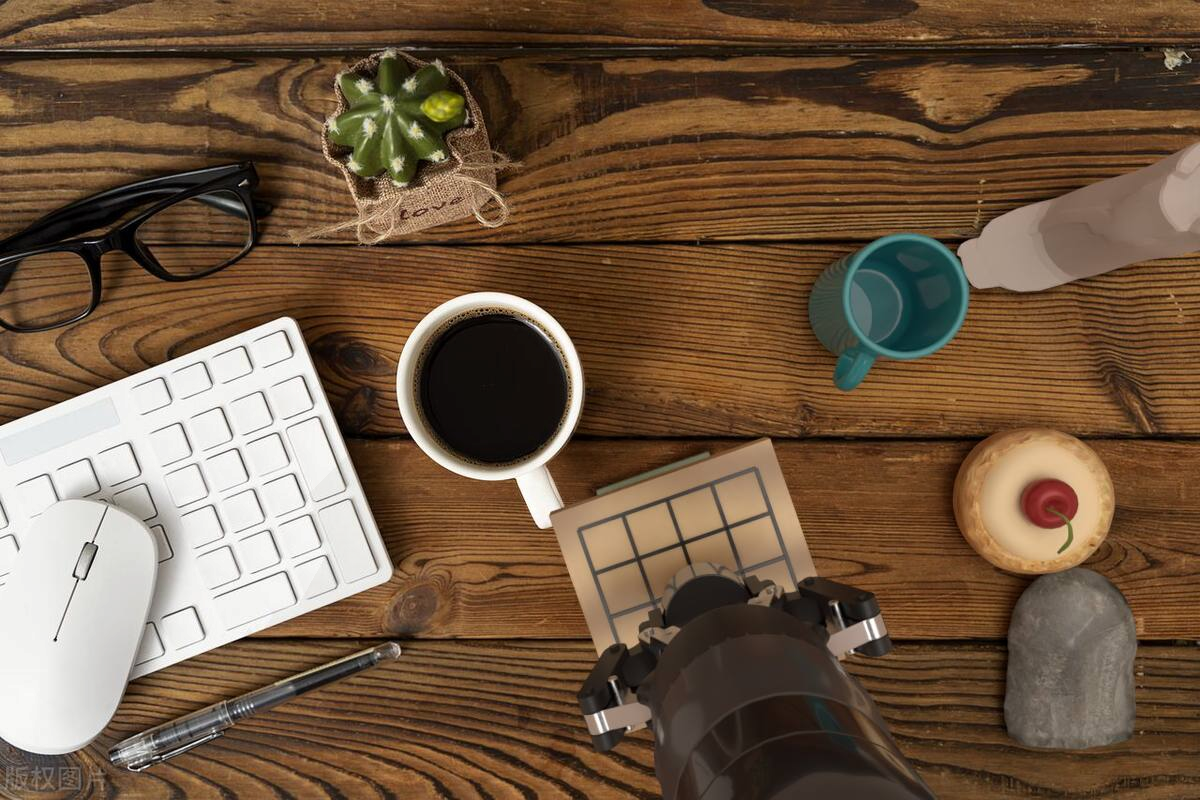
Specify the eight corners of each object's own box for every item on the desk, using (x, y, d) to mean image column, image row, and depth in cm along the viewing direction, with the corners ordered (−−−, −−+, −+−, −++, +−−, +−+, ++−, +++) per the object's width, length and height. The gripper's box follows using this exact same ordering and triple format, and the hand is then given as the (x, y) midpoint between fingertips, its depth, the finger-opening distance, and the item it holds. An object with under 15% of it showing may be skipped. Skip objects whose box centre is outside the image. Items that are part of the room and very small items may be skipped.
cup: (773, 366, 72) (804, 364, 61) (834, 237, 72) (876, 211, 61) (870, 411, 72) (918, 418, 61) (931, 282, 72) (991, 264, 61)
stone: (1002, 559, 72) (990, 723, 75) (1019, 577, 68) (1006, 749, 71) (1140, 563, 71) (1123, 730, 73) (1166, 582, 67) (1147, 757, 69)
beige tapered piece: (949, 228, 72) (1081, 170, 52) (1109, 181, 72) (1304, 105, 52) (972, 310, 72) (1113, 284, 52) (1132, 264, 72) (1335, 220, 52)
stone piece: (760, 631, 47) (770, 648, 44) (678, 660, 47) (682, 679, 44) (731, 549, 47) (740, 561, 44) (649, 578, 47) (652, 592, 44)
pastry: (1062, 408, 72) (1126, 412, 63) (1098, 542, 72) (1167, 565, 63) (924, 446, 72) (968, 456, 63) (960, 580, 73) (1010, 608, 64)
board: (776, 575, 73) (847, 659, 51) (620, 629, 73) (626, 735, 51) (722, 420, 72) (770, 438, 51) (566, 474, 73) (548, 515, 51)
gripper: (604, 914, 29) (605, 717, 46) (1000, 780, 29) (855, 631, 46) (531, 710, 29) (559, 588, 46) (929, 573, 29) (810, 501, 46)
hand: (707, 610), depth 46 cm, fingers closed on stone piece, 4 cm apart
